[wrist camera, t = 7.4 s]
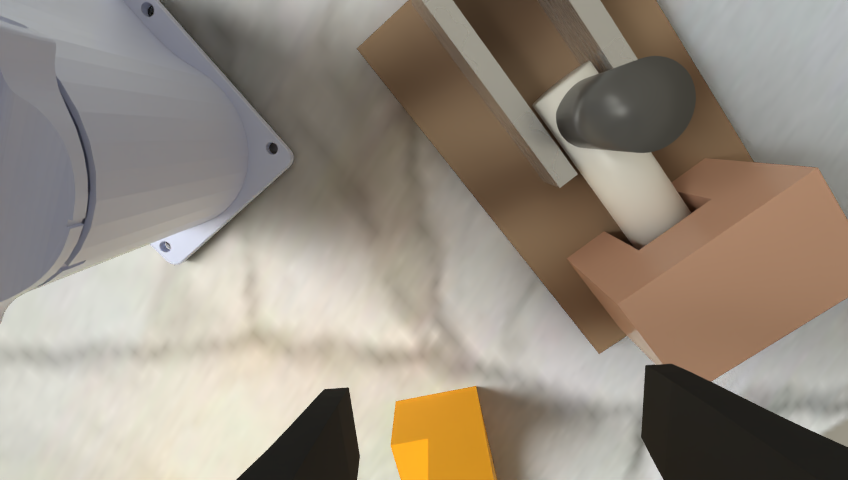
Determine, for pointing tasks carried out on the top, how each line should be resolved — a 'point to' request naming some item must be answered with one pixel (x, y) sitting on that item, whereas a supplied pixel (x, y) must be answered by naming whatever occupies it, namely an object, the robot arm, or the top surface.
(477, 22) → the board
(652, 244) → the socket
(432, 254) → the top surface
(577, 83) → the bolt
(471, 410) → the orange piece
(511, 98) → the channel
